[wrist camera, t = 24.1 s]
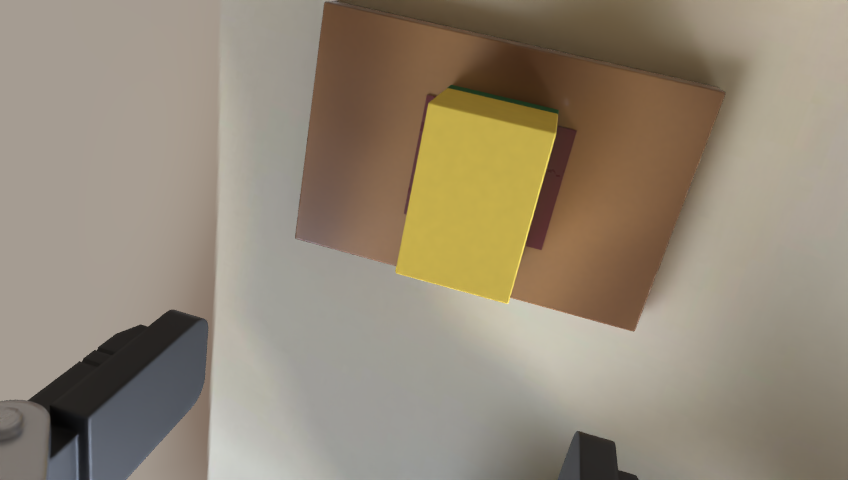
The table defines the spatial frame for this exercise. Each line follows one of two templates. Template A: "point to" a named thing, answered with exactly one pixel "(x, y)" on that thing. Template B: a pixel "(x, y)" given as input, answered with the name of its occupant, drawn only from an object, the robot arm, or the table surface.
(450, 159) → the sponge
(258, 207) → the table surface
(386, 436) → the table surface
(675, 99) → the board
